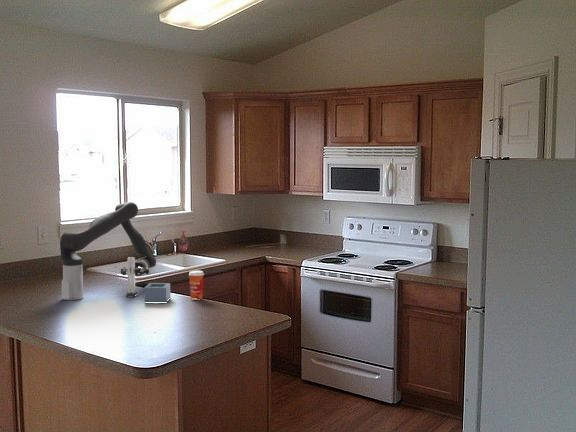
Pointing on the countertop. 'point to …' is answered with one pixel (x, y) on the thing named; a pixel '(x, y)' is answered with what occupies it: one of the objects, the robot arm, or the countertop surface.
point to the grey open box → (157, 292)
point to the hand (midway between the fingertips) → (132, 273)
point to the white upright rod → (131, 277)
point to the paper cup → (196, 284)
